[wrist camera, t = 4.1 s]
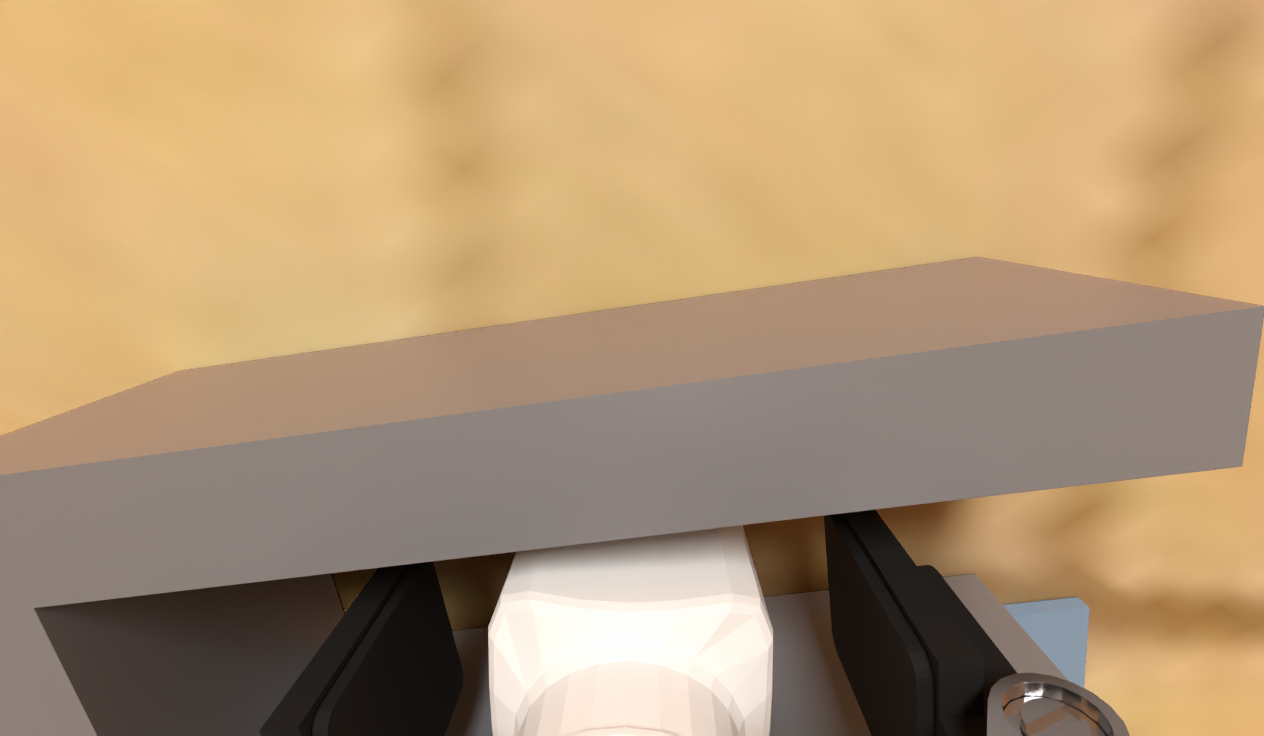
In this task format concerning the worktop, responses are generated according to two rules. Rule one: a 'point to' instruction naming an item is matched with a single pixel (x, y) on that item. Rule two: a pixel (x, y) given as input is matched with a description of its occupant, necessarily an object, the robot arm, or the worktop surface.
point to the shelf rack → (580, 473)
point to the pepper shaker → (633, 640)
